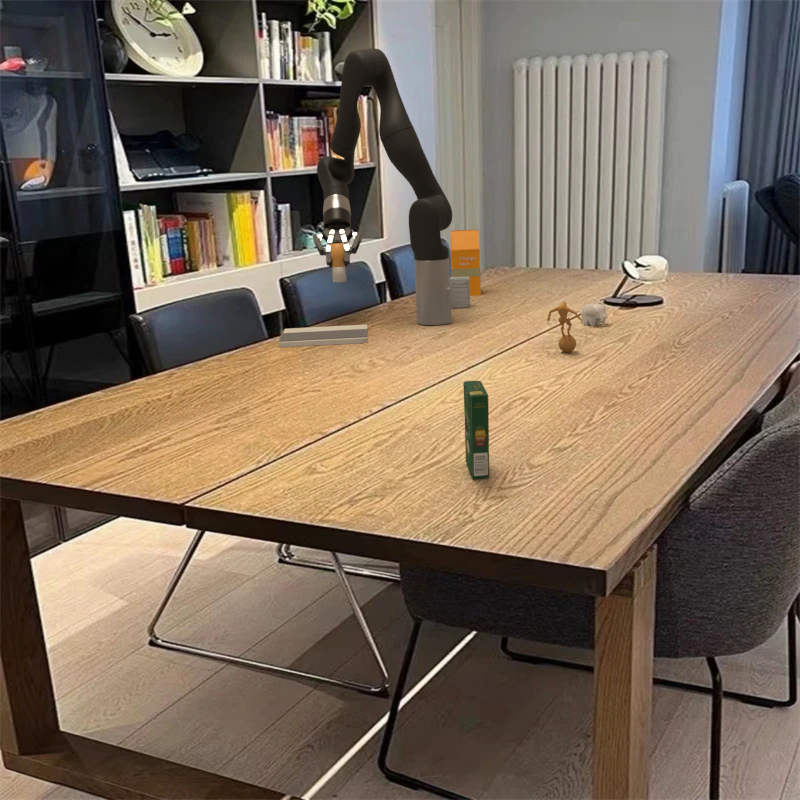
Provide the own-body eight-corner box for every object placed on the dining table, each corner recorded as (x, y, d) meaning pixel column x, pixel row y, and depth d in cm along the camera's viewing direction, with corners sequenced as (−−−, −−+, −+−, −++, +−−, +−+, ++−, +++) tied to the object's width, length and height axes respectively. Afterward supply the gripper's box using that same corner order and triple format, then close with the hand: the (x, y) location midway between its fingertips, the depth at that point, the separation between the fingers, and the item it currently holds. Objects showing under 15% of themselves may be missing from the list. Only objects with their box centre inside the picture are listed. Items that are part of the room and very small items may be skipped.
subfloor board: (367, 328, 257) (367, 323, 256) (367, 342, 239) (367, 337, 239) (285, 333, 256) (284, 328, 256) (278, 347, 239) (278, 341, 239)
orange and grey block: (346, 279, 260) (343, 242, 258) (346, 281, 257) (343, 244, 254) (333, 280, 260) (330, 243, 258) (332, 282, 257) (329, 244, 254)
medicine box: (470, 305, 284) (469, 276, 282) (469, 308, 280) (469, 278, 277) (443, 306, 285) (442, 277, 283) (442, 309, 281) (441, 279, 278)
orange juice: (480, 295, 301) (479, 230, 295) (452, 296, 301) (450, 232, 296) (479, 291, 308) (477, 228, 303) (451, 292, 308) (449, 229, 303)
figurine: (588, 351, 218) (588, 299, 215) (578, 357, 213) (578, 303, 210) (553, 349, 222) (553, 297, 219) (543, 354, 218) (542, 302, 214)
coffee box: (491, 479, 141) (489, 393, 138) (471, 480, 141) (469, 394, 138) (483, 461, 149) (481, 379, 146) (465, 462, 149) (462, 380, 145)
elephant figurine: (597, 329, 242) (597, 305, 240) (572, 325, 248) (572, 302, 246) (614, 325, 246) (614, 301, 245) (589, 321, 252) (589, 299, 251)
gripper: (309, 207, 262) (310, 257, 253) (361, 204, 262) (364, 254, 253) (312, 225, 268) (313, 275, 260) (363, 222, 268) (365, 272, 260)
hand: (338, 264), depth 256 cm, fingers closed on orange and grey block, 3 cm apart
